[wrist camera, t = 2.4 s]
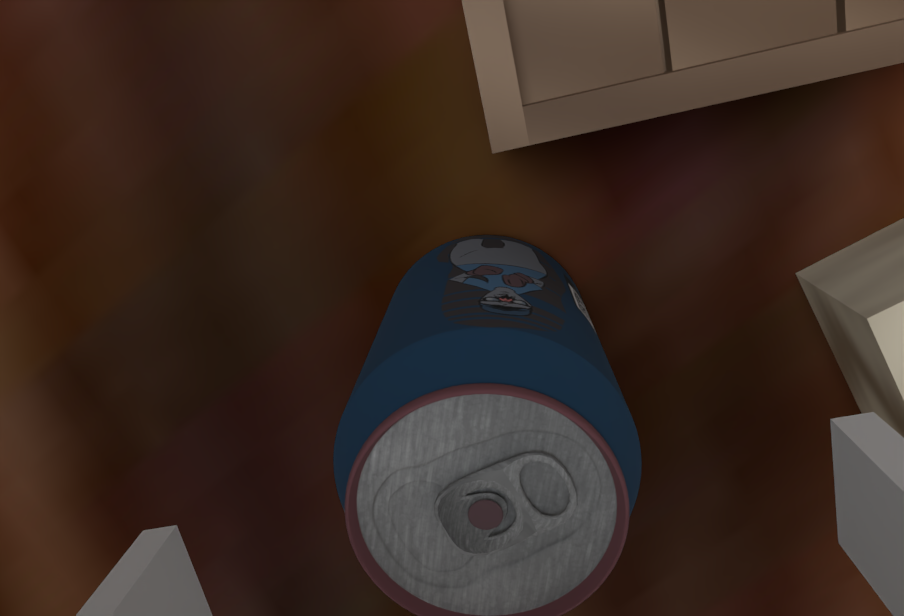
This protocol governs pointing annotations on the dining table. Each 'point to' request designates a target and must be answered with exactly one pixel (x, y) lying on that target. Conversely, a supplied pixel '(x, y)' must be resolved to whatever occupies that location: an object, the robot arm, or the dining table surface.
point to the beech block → (865, 318)
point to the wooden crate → (659, 56)
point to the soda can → (487, 440)
